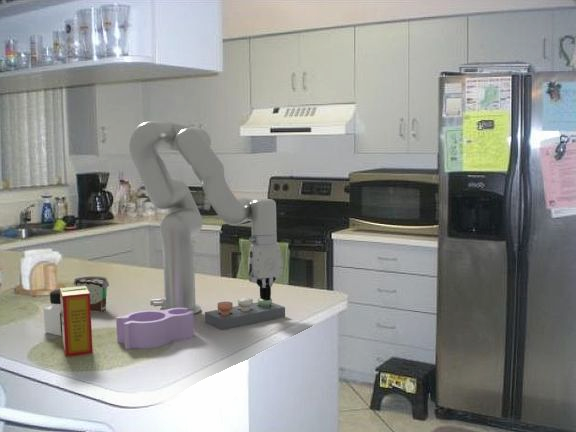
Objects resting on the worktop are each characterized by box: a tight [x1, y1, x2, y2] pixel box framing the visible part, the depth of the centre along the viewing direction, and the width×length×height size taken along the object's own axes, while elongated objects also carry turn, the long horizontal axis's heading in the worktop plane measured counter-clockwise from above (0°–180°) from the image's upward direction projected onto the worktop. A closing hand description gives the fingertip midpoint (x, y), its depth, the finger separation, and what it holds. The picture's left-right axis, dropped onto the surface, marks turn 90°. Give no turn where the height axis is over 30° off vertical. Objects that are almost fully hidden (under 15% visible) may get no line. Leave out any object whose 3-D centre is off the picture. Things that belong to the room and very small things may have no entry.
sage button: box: [257, 297, 273, 308], centre depth 202 cm, size 4×4×4 cm
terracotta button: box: [217, 301, 234, 316], centre depth 193 cm, size 4×4×4 cm
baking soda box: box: [59, 286, 94, 358], centre depth 171 cm, size 10×6×16 cm
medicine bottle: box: [43, 288, 62, 337], centre depth 187 cm, size 7×7×12 cm
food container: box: [73, 275, 110, 314], centre depth 211 cm, size 12×6×10 cm, turn 65°
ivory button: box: [237, 297, 254, 312], centre depth 198 cm, size 4×4×4 cm
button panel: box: [204, 301, 286, 331], centre depth 198 cm, size 22×10×3 cm, turn 126°
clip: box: [115, 308, 195, 350], centre depth 180 cm, size 20×12×7 cm, turn 122°
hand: (265, 299), depth 201 cm, fingers closed
